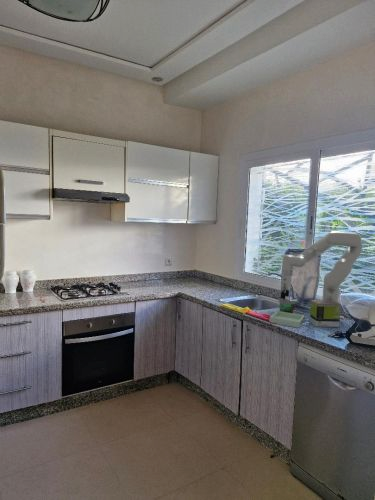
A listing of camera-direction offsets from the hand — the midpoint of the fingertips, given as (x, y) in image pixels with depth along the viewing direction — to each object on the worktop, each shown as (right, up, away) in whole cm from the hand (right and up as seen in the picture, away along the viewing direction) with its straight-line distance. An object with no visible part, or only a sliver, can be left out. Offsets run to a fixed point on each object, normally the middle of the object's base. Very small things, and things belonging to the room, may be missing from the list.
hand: (284, 297), depth 240 cm
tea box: (+19, -15, -21) cm, 32 cm away
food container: (0, -12, +1) cm, 12 cm away
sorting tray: (-3, -13, -18) cm, 22 cm away
